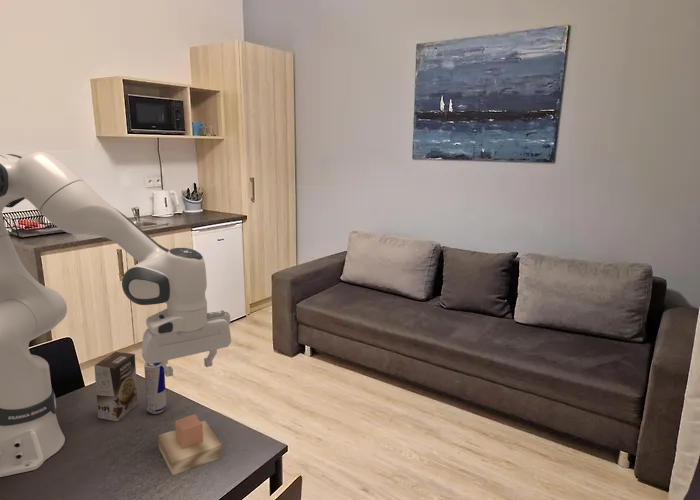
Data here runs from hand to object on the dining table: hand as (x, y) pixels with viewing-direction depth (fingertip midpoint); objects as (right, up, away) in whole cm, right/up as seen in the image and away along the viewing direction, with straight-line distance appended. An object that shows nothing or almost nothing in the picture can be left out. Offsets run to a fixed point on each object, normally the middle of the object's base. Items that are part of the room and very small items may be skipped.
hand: (189, 370), depth 114 cm
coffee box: (-27, -17, +20) cm, 37 cm away
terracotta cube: (-1, -18, +4) cm, 19 cm away
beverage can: (-16, -17, +21) cm, 32 cm away
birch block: (-1, -22, +5) cm, 23 cm away
